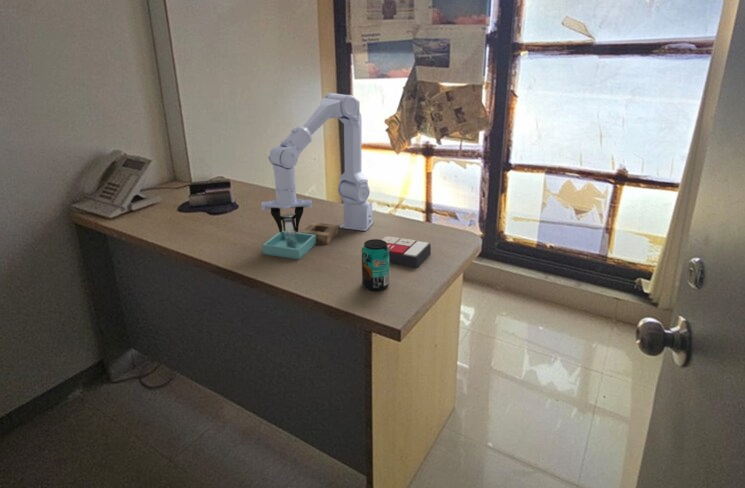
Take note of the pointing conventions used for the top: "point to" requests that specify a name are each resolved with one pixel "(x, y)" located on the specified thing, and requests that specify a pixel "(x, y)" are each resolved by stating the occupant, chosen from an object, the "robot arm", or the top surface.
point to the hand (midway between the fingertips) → (289, 230)
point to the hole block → (322, 232)
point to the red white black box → (407, 251)
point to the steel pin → (289, 229)
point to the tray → (279, 247)
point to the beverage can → (375, 265)
